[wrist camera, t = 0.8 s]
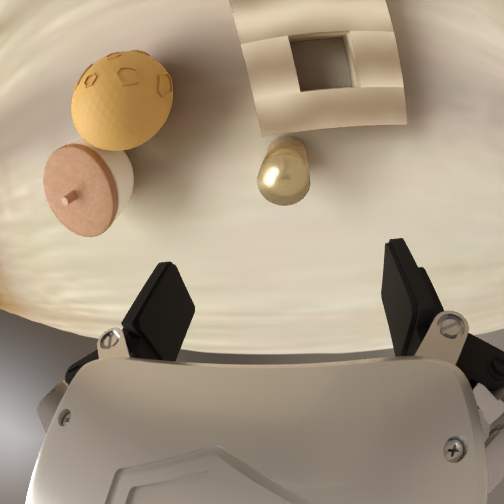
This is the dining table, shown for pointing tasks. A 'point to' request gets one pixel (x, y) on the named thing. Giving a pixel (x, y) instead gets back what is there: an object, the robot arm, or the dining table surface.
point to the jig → (310, 28)
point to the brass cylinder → (284, 172)
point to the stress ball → (122, 100)
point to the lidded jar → (88, 186)
